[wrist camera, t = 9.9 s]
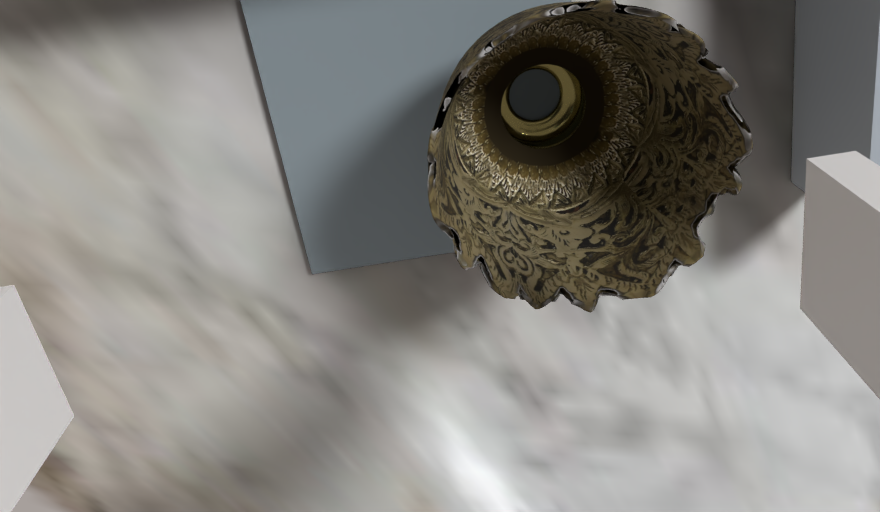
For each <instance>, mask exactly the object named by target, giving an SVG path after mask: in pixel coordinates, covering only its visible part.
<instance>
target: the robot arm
mask: <svg viewBox="0 0 880 512" xmlns="http://www.w3.org/2000/svg"><path fill="white" fill-rule="evenodd" d="M800 309H801V310H802V311H803V312H804V313H805V314H806V315H807V317H808V318H809V319H810V320H811V321H812V322H813V323H814V325H815V326H816V327H817V328H818V329H819V330H820V331H821V333H822V334H823V335H824V336H825V337H826V338H827V339H828V341H829V342H830V343H831V344H832V345H833V346H834V347H835V349H836V350H837V351H838V352H839V353H840V354H841V355H842V357H843V358H844V359H845V360H846V361H847V362H848V364H849V365H850V366H851V367H852V368H853V369H854V370H855V372H856V373H857V374H858V375H859V376H860V377H861V378H862V380H863V381H864V382H865V383H866V384H867V385H868V386H869V388H870V389H871V390H872V391H873V392H874V393H875V394H876V396H877V397H878V398H879V399H880V166H879V165H878V164H876V163H874V162H873V161H871V160H870V159H868V158H866V157H865V156H863V155H862V154H860V153H859V152H857V151H851V152H845V153H838V154H832V155H826V156H820V157H813V158H807V159H806V182H805V206H804V229H803V252H802V275H801V299H800ZM73 417H74V414H73V412H72V410H71V408H70V405H69V403H68V401H67V399H66V397H65V395H64V392H63V390H62V388H61V386H60V384H59V382H58V379H57V377H56V375H55V373H54V371H53V369H52V366H51V364H50V362H49V360H48V358H47V356H46V353H45V351H44V349H43V347H42V345H41V342H40V340H39V338H38V336H37V334H36V332H35V329H34V327H33V325H32V323H31V321H30V319H29V316H28V314H27V312H26V310H25V308H24V306H23V303H22V301H21V299H20V297H19V295H18V293H17V290H16V288H15V286H14V285H10V286H4V287H0V512H12V510H13V508H14V507H15V506H16V504H17V502H18V501H19V499H20V498H21V496H22V495H23V493H24V492H25V490H26V489H27V487H28V486H29V484H30V483H31V481H32V480H33V478H34V477H35V475H36V474H37V472H38V470H39V469H40V467H41V466H42V464H43V463H44V461H45V460H46V458H47V457H48V455H49V454H50V452H51V451H52V449H53V448H54V446H55V445H56V443H57V442H58V440H59V439H60V437H61V435H62V434H63V432H64V431H65V429H66V428H67V426H68V425H69V423H70V422H71V420H72V419H73Z"/></svg>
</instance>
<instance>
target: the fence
mask: <svg viewBox="0 0 880 512" xmlns="http://www.w3.org/2000/svg"><path fill="white" fill-rule="evenodd" d="M851 151H857V152H859V153H860V154H862V155H863V156H865V157H866V158H868V159H870V160H871V161H873V162H874V163H876V164H878V165H879V166H880V0H796V10H795V49H794V89H793V129H792V169H791V182H792V183H793V184H795V185H796V186H797V187H798V188H800V189H801V190H802V191H804V192H805V182H806V159H807V158H813V157H820V156H826V155H832V154H838V153H845V152H851Z"/></svg>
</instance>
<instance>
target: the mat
mask: <svg viewBox="0 0 880 512" xmlns="http://www.w3.org/2000/svg"><path fill="white" fill-rule="evenodd" d="M240 1H241V5H242V9H243V13H244V17H245V20H246V24H247V28H248V32H249V36H250V40H251V43H252V47H253V51H254V55H255V59H256V62H257V66H258V70H259V74H260V78H261V81H262V85H263V89H264V93H265V97H266V101H267V104H268V108H269V112H270V116H271V120H272V123H273V127H274V131H275V135H276V139H277V142H278V146H279V150H280V154H281V158H282V162H283V165H284V169H285V173H286V177H287V181H288V184H289V188H290V192H291V196H292V200H293V203H294V207H295V211H296V215H297V219H298V223H299V226H300V230H301V234H302V238H303V242H304V245H305V249H306V253H307V257H308V261H309V264H310V268H311V272H312V274H317V273H323V272H330V271H336V270H343V269H349V268H356V267H362V266H368V265H375V264H381V263H388V262H394V261H401V260H407V259H414V258H420V257H426V256H433V255H439V254H446V253H452V252H454V245H453V241H452V239H451V238H450V237H449V236H448V235H447V234H446V233H445V232H443V231H442V230H441V229H440V228H439V227H438V226H437V224H436V223H435V221H434V219H433V216H432V213H431V210H430V206H429V199H428V184H427V181H428V160H427V154H428V144H429V138H430V133H431V130H432V128H433V126H434V124H435V120H436V116H437V112H438V109H439V106H440V103H441V100H442V96H443V93H444V90H445V88H446V86H447V83H448V81H449V79H450V77H451V75H452V73H453V71H454V69H455V68H456V66H457V64H458V62H459V61H460V60H461V58H462V57H463V56H464V54H465V53H466V51H467V50H468V49H469V48H470V47H471V46H472V45H473V44H474V43H475V42H476V40H477V39H479V38H480V37H481V36H482V35H483V34H484V33H485V32H487V31H488V30H489V29H491V28H492V27H493V26H495V25H496V24H498V23H499V22H501V21H503V20H504V19H506V18H508V17H510V16H512V15H514V14H516V13H519V12H521V11H524V10H526V9H530V8H533V7H537V6H540V5H546V4H552V3H559V2H571V0H240ZM559 98H560V89H559V85H558V83H557V81H556V79H555V78H554V77H553V76H552V75H551V74H550V73H548V72H546V71H543V70H538V69H534V70H529V71H526V72H524V73H522V74H521V75H519V76H518V77H517V78H516V79H515V81H514V82H513V84H512V86H511V89H510V93H509V99H510V104H511V106H512V108H513V110H514V111H515V112H516V113H517V114H518V115H519V116H520V117H522V118H524V119H528V120H538V119H542V118H544V117H546V116H548V115H549V114H550V113H552V112H553V110H554V109H555V108H556V106H557V104H558V102H559Z"/></svg>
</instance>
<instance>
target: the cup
mask: <svg viewBox="0 0 880 512" xmlns="http://www.w3.org/2000/svg"><path fill="white" fill-rule="evenodd" d="M707 54H708V50H707V49H706V48H705V43H704V41H703V39H702V38H700V37H699V36H698V35H697V34H695V33H694V32H691V31H689V30H687V29H685V28H684V27H683V26H682V25H681V24H676V20H675V19H673V18H671V17H670V16H668V15H666V14H664V13H661V12H658V11H655V10H651V9H647V8H643V7H637V6H627V5H621V4H617V3H616V1H613V0H596V1H590V2H559V3H552V4H546V5H540V6H537V7H533V8H530V9H526V10H524V11H521V12H519V13H516V14H514V15H512V16H510V17H508V18H506V19H504V20H503V21H501V22H499V23H498V24H496V25H495V26H493V27H492V28H491V29H489V30H488V31H487V32H485V33H484V34H483V35H482V36H481V37H480V38H479V39H477V40H476V42H475V43H474V44H473V45H472V46H471V47H470V48H469V49H468V50H467V51H466V53H465V54H464V56H463V57H462V58H461V60H460V61H459V62H458V64H457V66H456V68H455V69H454V71H453V73H452V75H451V77H450V79H449V81H448V83H447V86H446V88H445V90H444V93H443V96H442V100H441V103H440V106H439V109H438V112H437V116H436V120H435V124H434V126H433V128H432V130H431V133H430V138H429V144H428V154H427V160H428V181H427V184H428V199H429V206H430V210H431V213H432V216H433V219H434V221H435V223H436V224H437V226H438V227H439V228H440V229H441V230H442V231H443V232H445V233H446V234H447V235H448V236H449V237H450V238H451V239H452V241H453V245H454V253H455V256H456V259H457V260H458V262H459V264H460V265H461V267H462V268H463V269H465V270H467V269H469V268H474V267H476V266H477V264H479V266H480V269H481V271H482V273H483V275H484V277H485V279H486V281H487V283H488V284H489V286H490V287H491V288H492V289H493V290H494V291H495V292H496V293H498V294H499V295H501V296H502V297H504V298H510V299H515V298H516V296H519V297H520V299H522V300H526V301H527V302H528V303H529V304H530V305H531V306H532V307H533V308H535V309H540V308H542V307H544V306H546V305H547V304H548V303H550V302H551V301H552V302H556V300H557V299H558V297H559V296H560V295H559V294H563V295H564V296H565V297H566V298H567V299H568V300H570V302H571V304H573V305H576V306H578V307H580V308H582V309H583V310H585V311H588V312H592V311H593V310H594V309H595V307H596V304H597V302H598V298H599V297H600V296H609V295H610V296H611V295H612V296H617V297H619V298H620V299H622V300H623V299H634V298H648V297H652V296H654V295H656V294H657V293H658V292H659V291H660V290H661V289H662V288H663V286H664V285H665V283H666V281H667V280H668V278H669V277H670V276H671V275H673V273H674V271H675V270H676V269H677V267H678V266H679V265H683V266H687V267H689V266H691V265H693V264H694V263H696V262H697V261H698V260H699V259H700V258H702V257H703V255H704V251H705V243H704V242H703V241H702V240H701V239H700V236H699V232H698V227H699V225H700V224H701V223H702V221H703V219H704V218H706V217H708V216H710V215H712V214H713V212H714V208H715V201H716V200H717V197H718V196H719V195H724V194H725V193H730V194H732V195H737V194H738V193H739V192H740V190H741V187H742V181H741V177H740V174H739V173H738V171H737V169H736V168H735V167H736V166H737V164H739V163H740V162H742V161H743V160H744V159H745V158H746V157H747V156H749V155H750V154H751V152H752V149H753V142H752V135H751V132H750V129H749V127H748V126H747V124H746V122H745V120H744V119H743V117H742V116H741V114H740V113H739V112H738V111H737V110H736V108H735V107H734V105H733V103H732V101H731V99H730V97H729V94H730V93H731V92H735V89H736V88H737V87H738V84H737V82H736V81H735V80H734V78H733V77H732V76H731V75H730V74H729V73H728V72H727V71H726V70H725V68H724V67H723V66H719V65H716V64H714V63H713V62H711V61H709V60H708V59H706V58H705V56H706V55H707ZM534 69H538V70H543V71H546V72H548V73H550V74H551V75H552V76H553V77H554V78H555V79H556V81H557V83H558V85H559V89H560V98H559V102H558V104H557V106H556V108H555V109H554V110H553V112H552V113H550V114H549V115H548V116H546V117H544V118H542V119H538V120H528V119H524V118H522V117H520V116H519V115H518V114H517V113H516V112H515V111H514V110H513V108H512V106H511V104H510V99H509V93H510V89H511V86H512V84H513V82H514V81H515V79H516V78H517V77H518V76H519V75H521V74H522V73H524V72H526V71H529V70H534ZM476 261H477V262H476Z"/></svg>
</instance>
